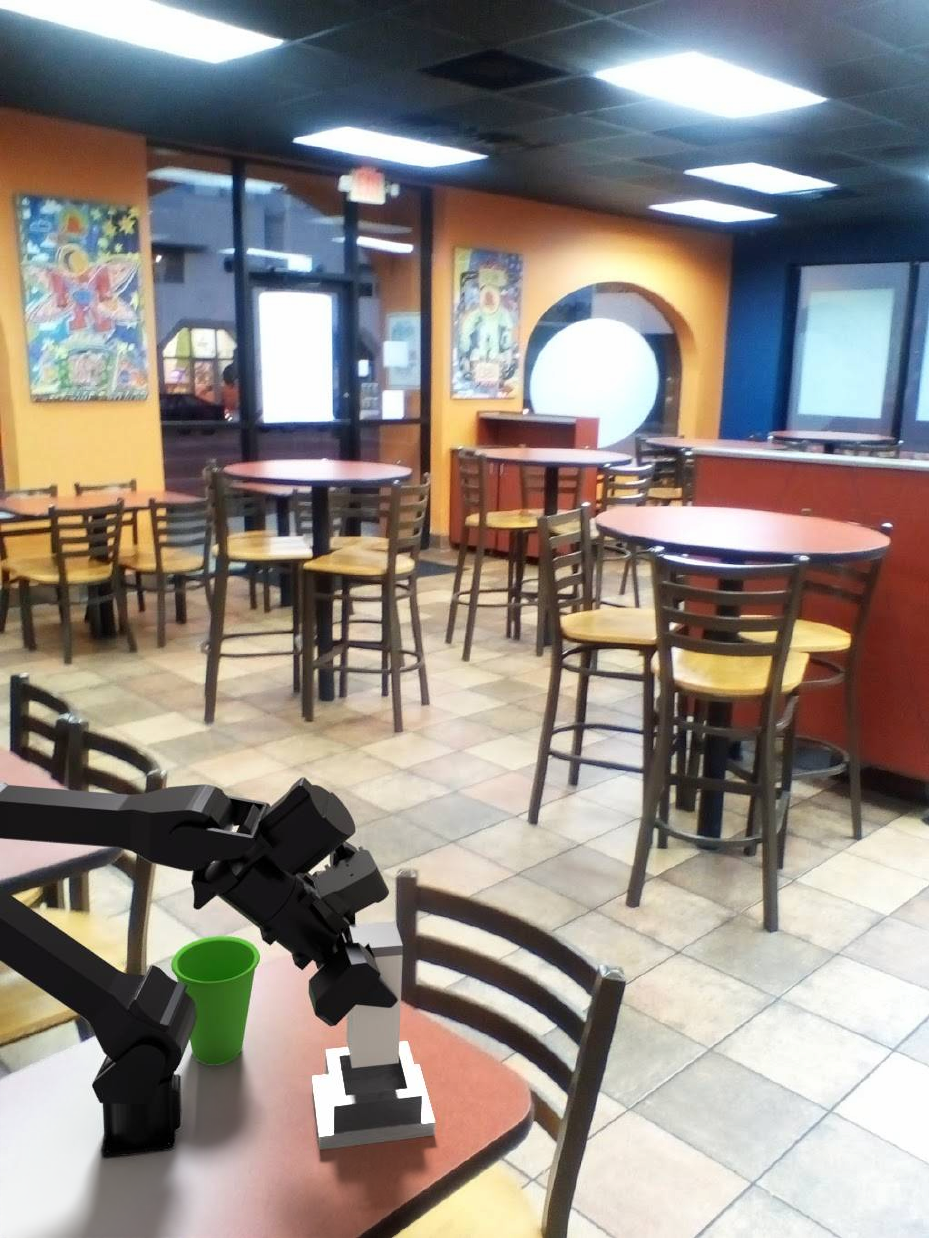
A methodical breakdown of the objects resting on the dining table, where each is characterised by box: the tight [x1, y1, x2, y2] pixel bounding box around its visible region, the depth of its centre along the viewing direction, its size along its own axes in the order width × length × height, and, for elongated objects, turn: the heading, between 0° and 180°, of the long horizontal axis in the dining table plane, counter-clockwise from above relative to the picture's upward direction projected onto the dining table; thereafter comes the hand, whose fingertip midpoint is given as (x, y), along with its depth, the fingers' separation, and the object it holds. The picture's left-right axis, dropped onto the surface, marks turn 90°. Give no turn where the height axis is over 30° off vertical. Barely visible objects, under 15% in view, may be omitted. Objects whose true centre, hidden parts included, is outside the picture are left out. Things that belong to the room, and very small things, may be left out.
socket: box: [312, 1040, 436, 1151], centre depth 100 cm, size 11×9×4 cm
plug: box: [345, 920, 404, 1068], centre depth 98 cm, size 4×4×12 cm
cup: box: [170, 935, 261, 1066], centre depth 107 cm, size 9×9×11 cm
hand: (387, 988), depth 98 cm, fingers closed on plug, 5 cm apart
